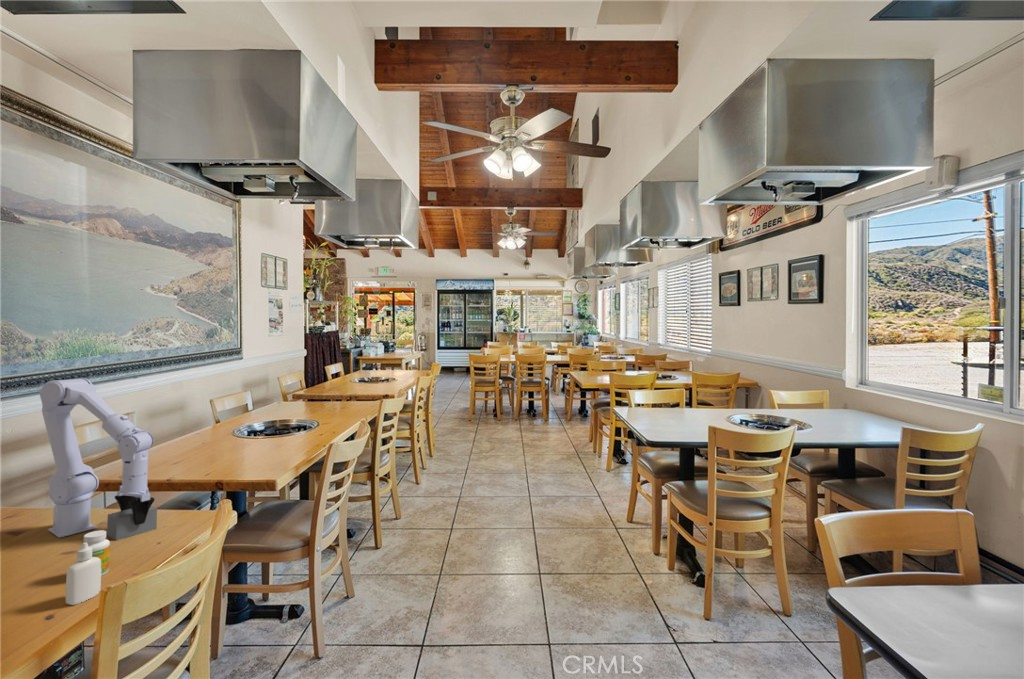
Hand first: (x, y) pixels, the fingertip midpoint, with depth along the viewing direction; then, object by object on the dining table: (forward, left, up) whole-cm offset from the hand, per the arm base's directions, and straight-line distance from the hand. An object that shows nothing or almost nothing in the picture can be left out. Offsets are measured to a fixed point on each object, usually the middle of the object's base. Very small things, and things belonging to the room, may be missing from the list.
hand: (133, 521), depth 132 cm
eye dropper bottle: (+32, -20, -3) cm, 38 cm away
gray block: (0, 0, -3) cm, 3 cm away
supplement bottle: (+21, -15, -3) cm, 26 cm away
